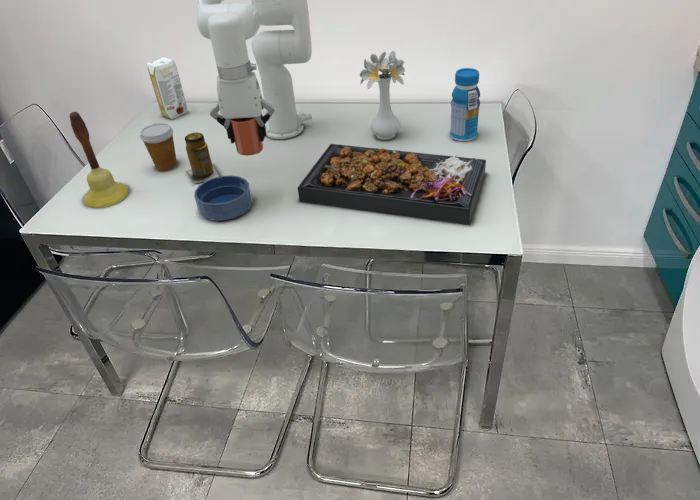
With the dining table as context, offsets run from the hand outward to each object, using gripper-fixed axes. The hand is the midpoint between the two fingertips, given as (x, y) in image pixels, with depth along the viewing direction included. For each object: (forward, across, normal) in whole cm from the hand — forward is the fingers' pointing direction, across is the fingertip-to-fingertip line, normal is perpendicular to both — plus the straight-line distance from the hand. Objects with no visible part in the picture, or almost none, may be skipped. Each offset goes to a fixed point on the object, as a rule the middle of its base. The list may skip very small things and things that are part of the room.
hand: (248, 139), depth 142 cm
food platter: (+18, -36, -2) cm, 40 cm away
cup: (+3, 0, 0) cm, 3 cm away
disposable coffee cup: (+18, +32, -22) cm, 42 cm away
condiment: (+18, +19, -15) cm, 30 cm away
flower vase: (+18, -35, -33) cm, 52 cm away
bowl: (+18, +9, +3) cm, 20 cm away
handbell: (+18, +45, -6) cm, 49 cm away
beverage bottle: (+18, -59, -29) cm, 68 cm away
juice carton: (+18, +38, -59) cm, 73 cm away
